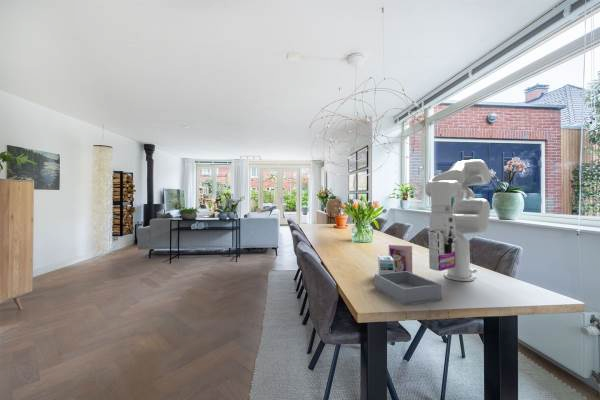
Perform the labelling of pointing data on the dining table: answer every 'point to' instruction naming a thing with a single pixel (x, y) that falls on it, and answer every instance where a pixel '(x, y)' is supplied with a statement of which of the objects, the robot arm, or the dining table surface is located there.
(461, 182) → the robot arm
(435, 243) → the candy bar box
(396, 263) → the pink printed box
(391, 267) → the light bulb box
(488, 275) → the dining table surface
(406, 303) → the tray
